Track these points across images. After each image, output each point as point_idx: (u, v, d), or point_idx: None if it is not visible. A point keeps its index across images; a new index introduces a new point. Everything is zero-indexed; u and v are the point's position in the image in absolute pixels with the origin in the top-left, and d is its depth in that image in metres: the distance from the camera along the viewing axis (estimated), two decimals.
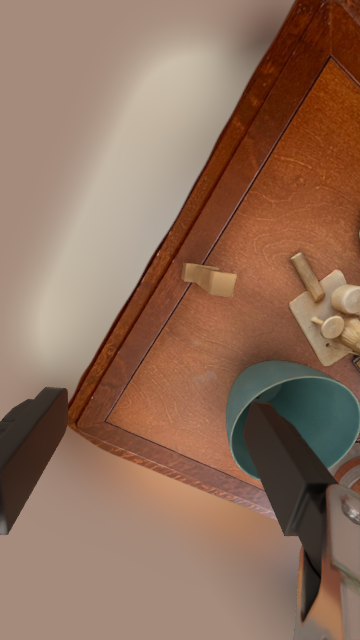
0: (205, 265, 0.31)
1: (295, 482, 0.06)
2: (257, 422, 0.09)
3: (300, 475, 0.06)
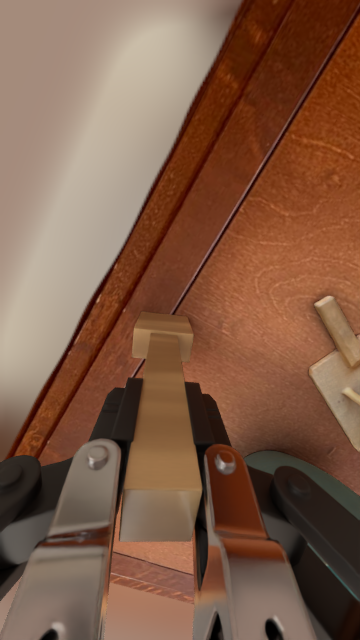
0: (174, 321, 0.18)
1: None
2: None
3: (193, 437, 0.07)
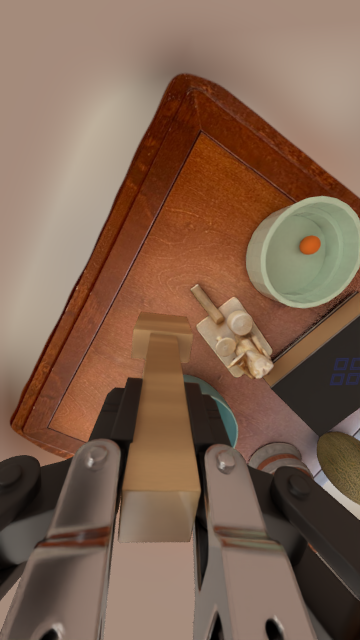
0: (173, 322, 0.18)
1: None
2: None
3: (193, 437, 0.07)
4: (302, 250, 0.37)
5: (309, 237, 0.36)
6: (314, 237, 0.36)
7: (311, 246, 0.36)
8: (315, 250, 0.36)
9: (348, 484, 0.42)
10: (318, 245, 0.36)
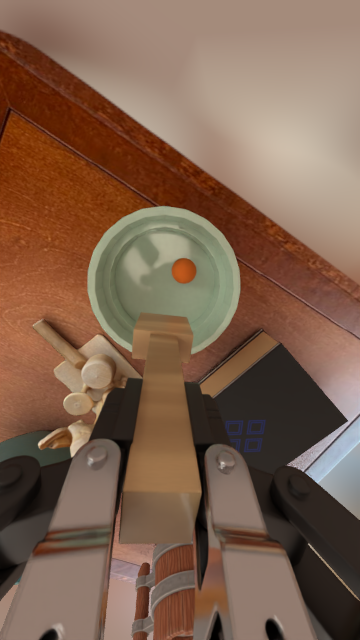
0: (174, 322, 0.18)
1: None
2: None
3: (193, 437, 0.07)
4: (174, 277, 0.27)
5: (178, 261, 0.26)
6: (184, 261, 0.26)
7: (179, 273, 0.26)
8: (187, 279, 0.26)
9: None
10: (189, 272, 0.26)
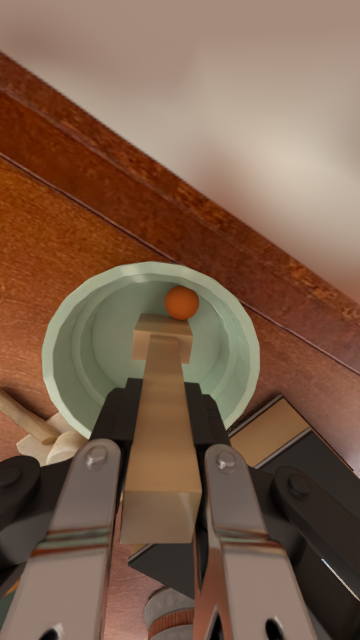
0: (173, 323, 0.18)
1: None
2: None
3: (193, 437, 0.07)
4: (170, 298, 0.18)
5: None
6: None
7: (181, 285, 0.19)
8: (192, 292, 0.19)
9: None
10: None
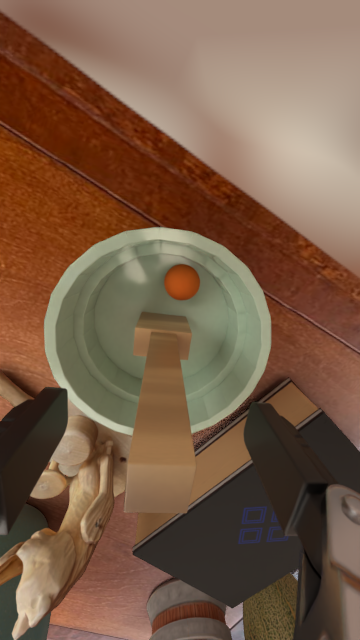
0: (173, 321, 0.19)
1: (295, 482, 0.06)
2: (257, 422, 0.09)
3: (300, 475, 0.06)
4: (171, 276, 0.18)
5: None
6: None
7: (186, 266, 0.18)
8: (194, 277, 0.18)
9: None
10: (197, 273, 0.18)
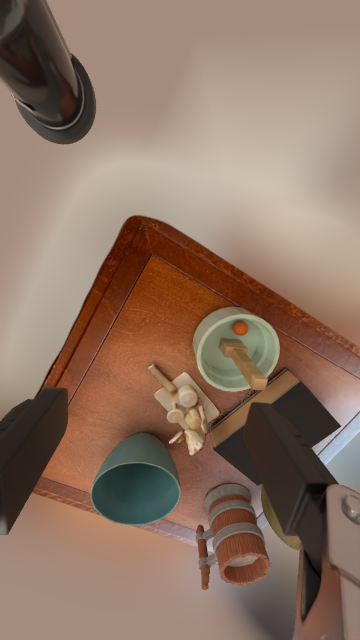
0: (237, 342, 0.45)
1: (295, 482, 0.06)
2: (257, 422, 0.09)
3: (300, 475, 0.06)
4: (237, 328, 0.44)
5: (239, 321, 0.45)
6: None
7: (243, 324, 0.44)
8: (246, 329, 0.44)
9: (278, 527, 0.51)
10: (247, 326, 0.44)
